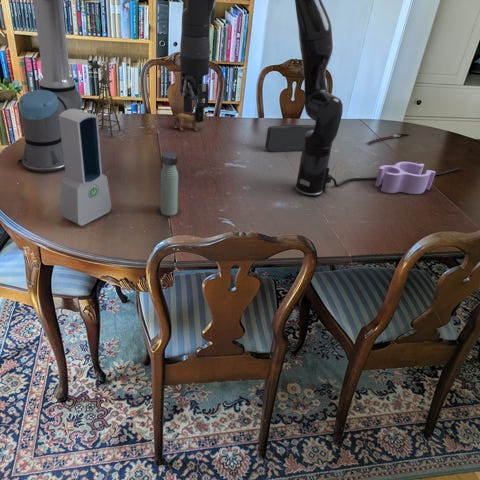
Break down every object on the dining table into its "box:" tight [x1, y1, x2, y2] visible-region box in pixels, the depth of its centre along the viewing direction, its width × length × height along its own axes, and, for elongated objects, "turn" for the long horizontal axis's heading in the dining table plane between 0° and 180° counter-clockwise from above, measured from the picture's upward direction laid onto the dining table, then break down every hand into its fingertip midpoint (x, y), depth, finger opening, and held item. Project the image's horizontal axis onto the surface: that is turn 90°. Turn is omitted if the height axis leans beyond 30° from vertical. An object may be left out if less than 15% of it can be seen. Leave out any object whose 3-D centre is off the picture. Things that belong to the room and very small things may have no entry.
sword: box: [367, 133, 409, 145], centre depth 213 cm, size 31×3×1 cm, turn 126°
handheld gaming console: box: [264, 124, 315, 152], centre depth 189 cm, size 23×3×10 cm, turn 108°
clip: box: [374, 161, 436, 195], centre depth 169 cm, size 20×12×7 cm, turn 109°
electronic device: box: [59, 109, 112, 227], centre depth 126 cm, size 12×8×30 cm, turn 148°
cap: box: [161, 151, 178, 166], centre depth 131 cm, size 4×4×2 cm
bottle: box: [160, 164, 179, 217], centre depth 135 cm, size 5×5×18 cm
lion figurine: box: [170, 111, 206, 132], centre depth 198 cm, size 15×5×9 cm, turn 110°
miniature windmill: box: [91, 55, 122, 138], centre depth 181 cm, size 9×8×30 cm
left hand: (198, 79), depth 151 cm, fingers open, 13 cm apart
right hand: (193, 116), depth 127 cm, fingers open, 8 cm apart
